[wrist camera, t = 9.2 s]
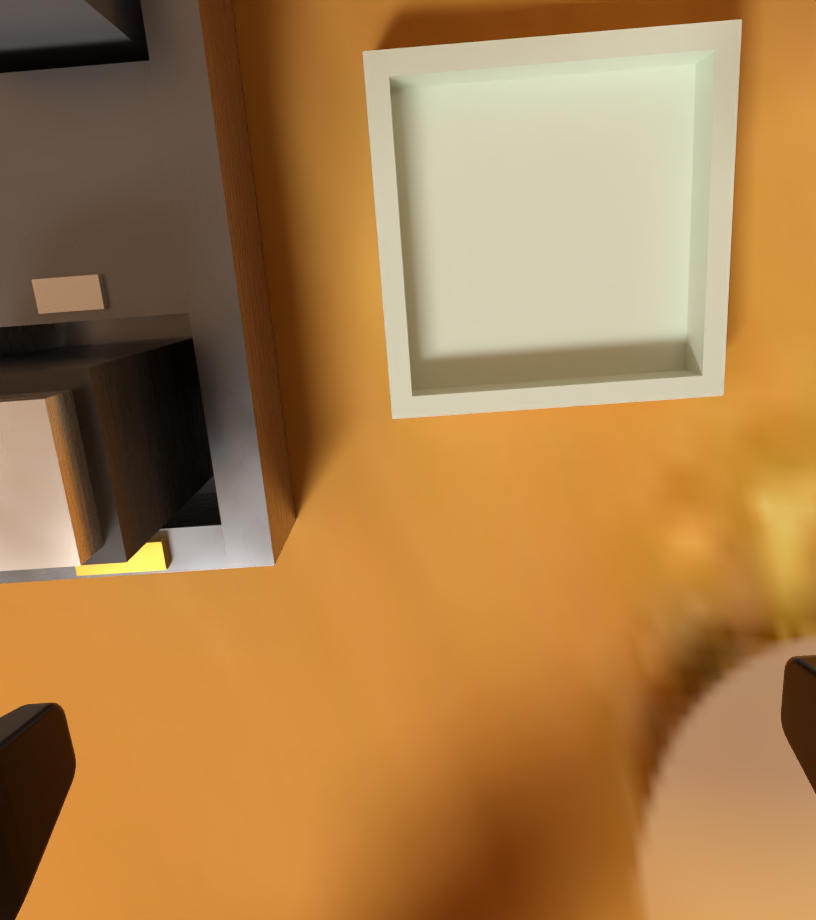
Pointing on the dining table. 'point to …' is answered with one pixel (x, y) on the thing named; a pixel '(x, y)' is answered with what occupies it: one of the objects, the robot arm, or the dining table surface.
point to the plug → (70, 33)
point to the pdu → (136, 316)
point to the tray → (555, 217)
